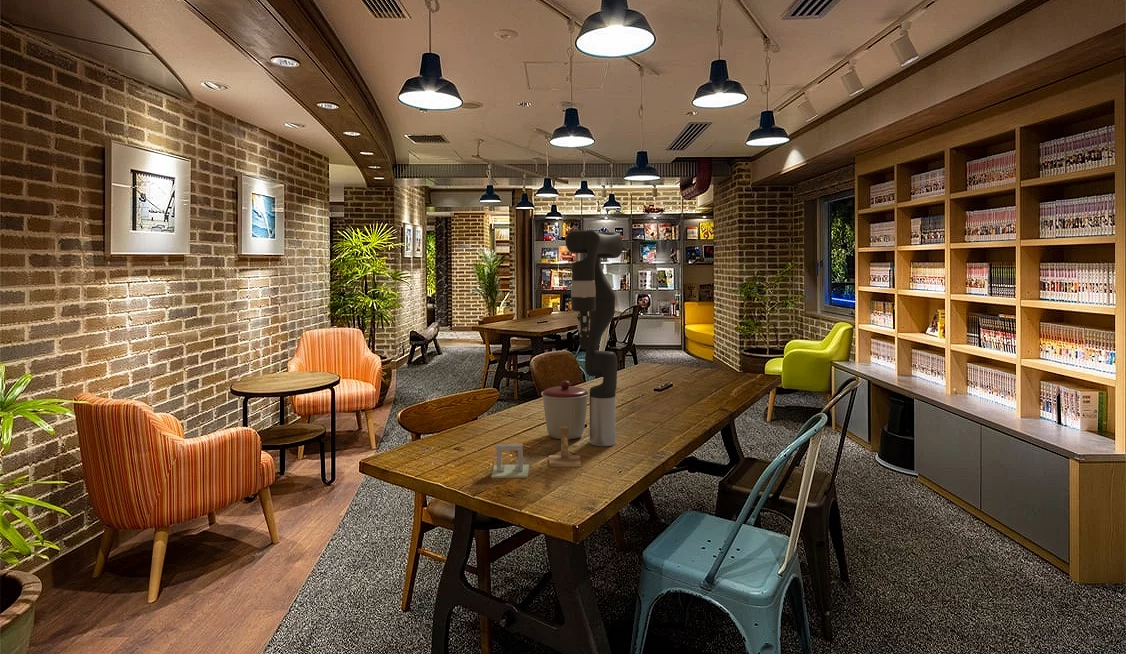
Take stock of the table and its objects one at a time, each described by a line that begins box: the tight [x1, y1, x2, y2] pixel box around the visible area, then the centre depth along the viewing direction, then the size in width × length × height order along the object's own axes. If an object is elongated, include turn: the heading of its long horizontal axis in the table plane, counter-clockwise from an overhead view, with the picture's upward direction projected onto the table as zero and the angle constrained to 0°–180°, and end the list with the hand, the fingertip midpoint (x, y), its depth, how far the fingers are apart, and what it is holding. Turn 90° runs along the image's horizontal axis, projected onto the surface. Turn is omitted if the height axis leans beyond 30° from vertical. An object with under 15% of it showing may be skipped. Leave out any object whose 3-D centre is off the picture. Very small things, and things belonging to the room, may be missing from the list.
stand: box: [548, 427, 582, 468], centre depth 202 cm, size 19×10×11 cm, turn 1°
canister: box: [540, 380, 590, 440], centre depth 237 cm, size 18×18×21 cm
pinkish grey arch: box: [495, 442, 524, 472], centre depth 197 cm, size 3×8×8 cm, turn 91°
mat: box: [490, 463, 530, 479], centre depth 198 cm, size 11×11×1 cm
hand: (583, 347), depth 199 cm, fingers open, 8 cm apart
